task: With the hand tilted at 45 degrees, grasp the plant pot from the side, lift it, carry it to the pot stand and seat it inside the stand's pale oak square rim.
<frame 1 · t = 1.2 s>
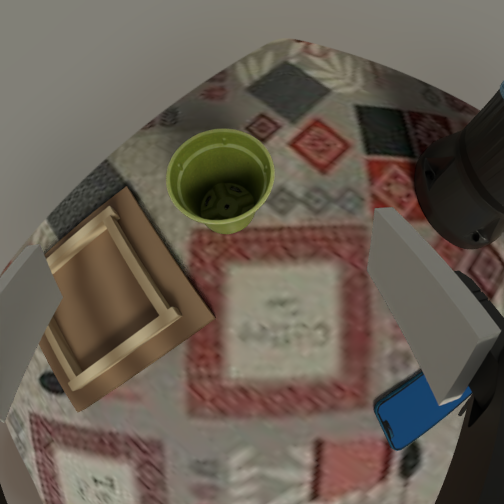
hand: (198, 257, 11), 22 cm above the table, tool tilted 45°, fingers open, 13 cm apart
plant pot: (228, 208, 35), on the table
smartphone: (432, 393, 30), on the table
pot stand: (100, 301, 33), on the table
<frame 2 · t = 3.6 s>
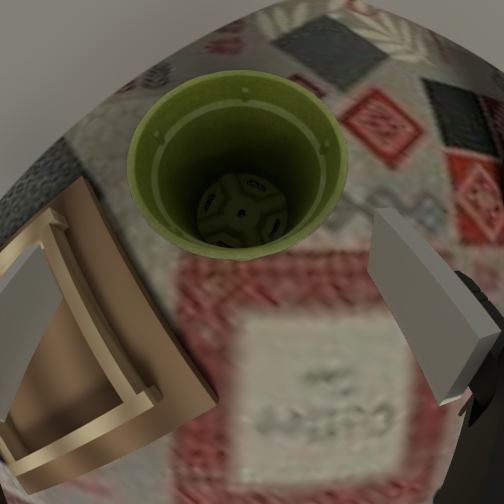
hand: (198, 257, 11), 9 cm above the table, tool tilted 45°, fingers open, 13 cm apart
plant pot: (242, 215, 21), on the table
pot stand: (44, 354, 19), on the table
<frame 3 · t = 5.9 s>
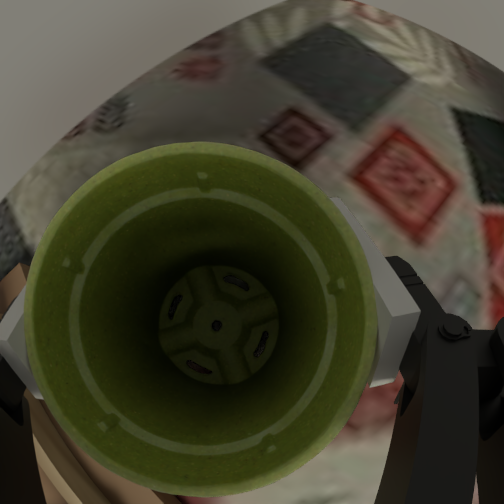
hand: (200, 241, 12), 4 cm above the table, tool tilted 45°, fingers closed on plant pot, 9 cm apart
plant pot: (219, 323, 16), on the table, touching gripper
pot stand: (12, 454, 13), on the table
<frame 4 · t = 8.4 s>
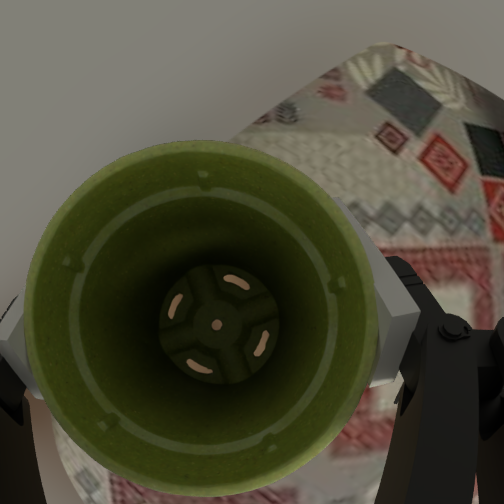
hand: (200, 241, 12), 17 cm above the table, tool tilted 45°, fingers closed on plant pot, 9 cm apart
plant pot: (219, 323, 16), point 13 cm above the table, touching gripper
pot stand: (221, 338, 28), on the table
when the fingers open (7 cm above the table, at t = 11.2 s): plant pot drops 1 cm, resting on pot stand.
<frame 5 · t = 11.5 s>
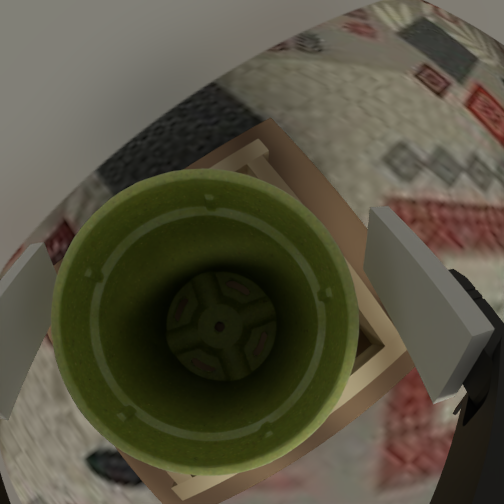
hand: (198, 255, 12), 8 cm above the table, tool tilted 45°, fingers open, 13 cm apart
plant pot: (221, 325, 17), point 1 cm above the table, touching pot stand
pot stand: (223, 324, 18), on the table
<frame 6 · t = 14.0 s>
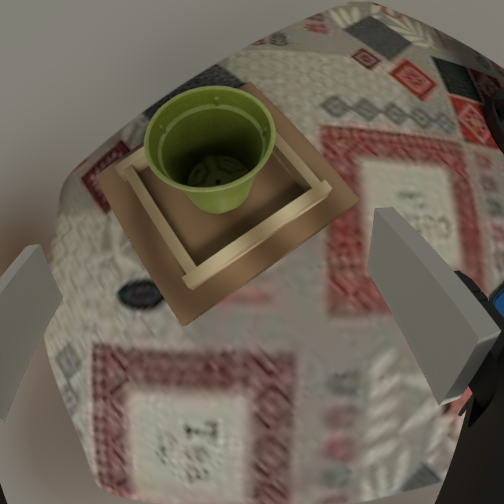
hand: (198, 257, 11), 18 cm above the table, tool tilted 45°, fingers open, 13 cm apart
plant pot: (219, 184, 30), point 1 cm above the table, touching pot stand
pot stand: (220, 189, 31), on the table
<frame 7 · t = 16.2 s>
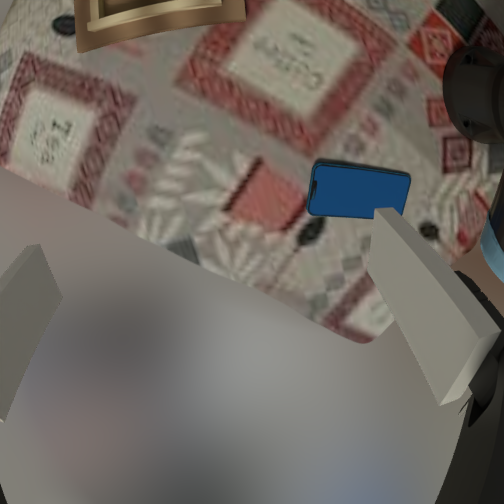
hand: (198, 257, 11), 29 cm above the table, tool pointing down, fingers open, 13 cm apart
smartphone: (359, 191, 42), on the table
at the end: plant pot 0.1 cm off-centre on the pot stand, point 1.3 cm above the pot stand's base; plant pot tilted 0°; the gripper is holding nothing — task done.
